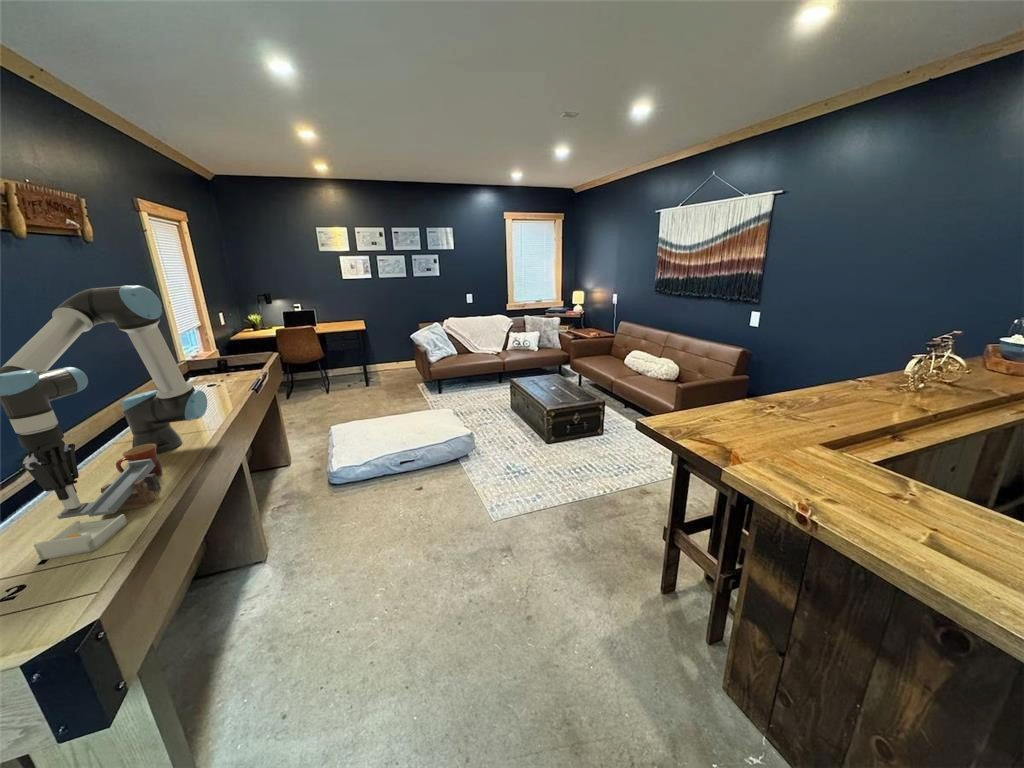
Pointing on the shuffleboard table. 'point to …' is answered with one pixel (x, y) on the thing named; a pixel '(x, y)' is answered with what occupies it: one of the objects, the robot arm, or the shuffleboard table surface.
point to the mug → (141, 457)
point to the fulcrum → (140, 493)
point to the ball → (73, 535)
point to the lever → (113, 492)
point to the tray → (80, 538)
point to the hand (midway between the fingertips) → (73, 507)
